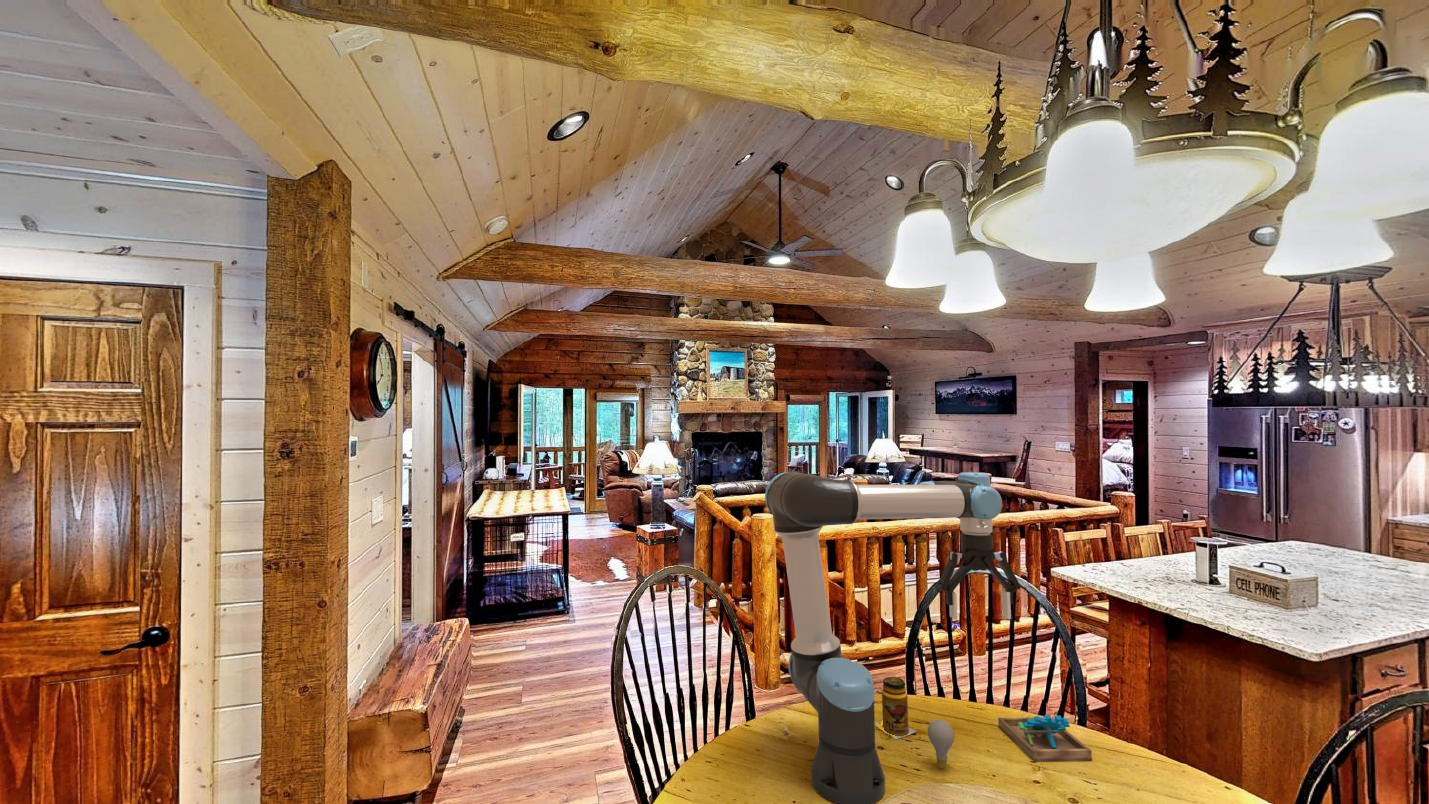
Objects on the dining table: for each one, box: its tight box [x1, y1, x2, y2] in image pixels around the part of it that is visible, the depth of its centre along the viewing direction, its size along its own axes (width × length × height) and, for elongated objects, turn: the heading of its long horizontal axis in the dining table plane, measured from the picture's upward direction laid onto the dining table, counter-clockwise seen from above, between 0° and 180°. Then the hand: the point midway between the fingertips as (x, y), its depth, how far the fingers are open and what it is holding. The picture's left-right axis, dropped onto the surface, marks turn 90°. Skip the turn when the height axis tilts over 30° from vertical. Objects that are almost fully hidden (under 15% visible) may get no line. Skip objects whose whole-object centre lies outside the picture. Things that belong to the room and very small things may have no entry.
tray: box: [997, 716, 1093, 763], centre depth 130 cm, size 13×15×2 cm
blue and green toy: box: [1018, 714, 1071, 749], centre depth 128 cm, size 11×6×10 cm
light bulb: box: [927, 718, 955, 770], centre depth 120 cm, size 6×6×10 cm
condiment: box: [875, 676, 918, 740], centre depth 137 cm, size 7×8×12 cm
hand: (980, 617), depth 139 cm, fingers open, 13 cm apart
